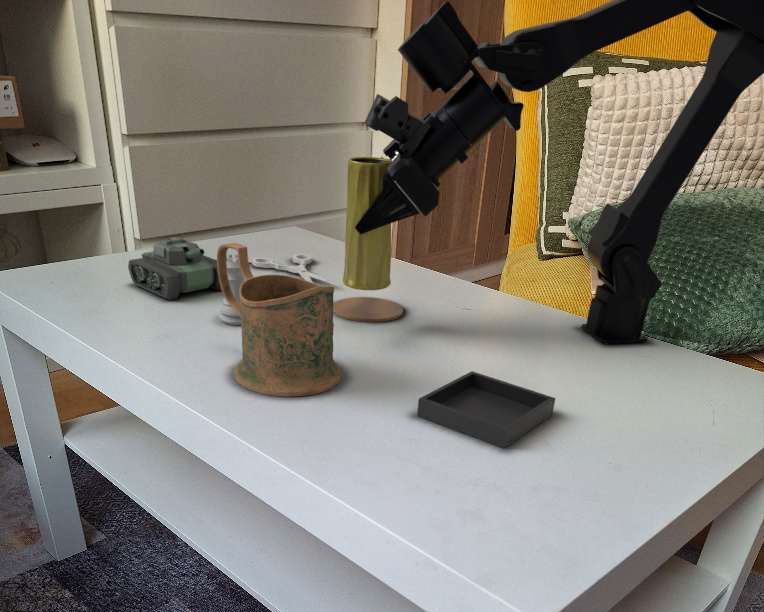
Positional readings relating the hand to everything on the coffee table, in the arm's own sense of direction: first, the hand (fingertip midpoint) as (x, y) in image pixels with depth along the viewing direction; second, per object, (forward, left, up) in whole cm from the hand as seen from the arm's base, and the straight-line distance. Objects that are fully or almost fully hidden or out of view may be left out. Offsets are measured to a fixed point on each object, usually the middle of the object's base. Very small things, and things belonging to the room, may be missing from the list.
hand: (357, 225), depth 89 cm
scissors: (+3, -23, -12) cm, 26 cm away
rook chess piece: (+15, -3, -12) cm, 20 cm away
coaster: (-3, -5, -12) cm, 14 cm away
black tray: (-6, +29, -12) cm, 32 cm away
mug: (+13, +13, -12) cm, 22 cm away
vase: (-1, 0, -7) cm, 7 cm away
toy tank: (+21, -18, -12) cm, 30 cm away
